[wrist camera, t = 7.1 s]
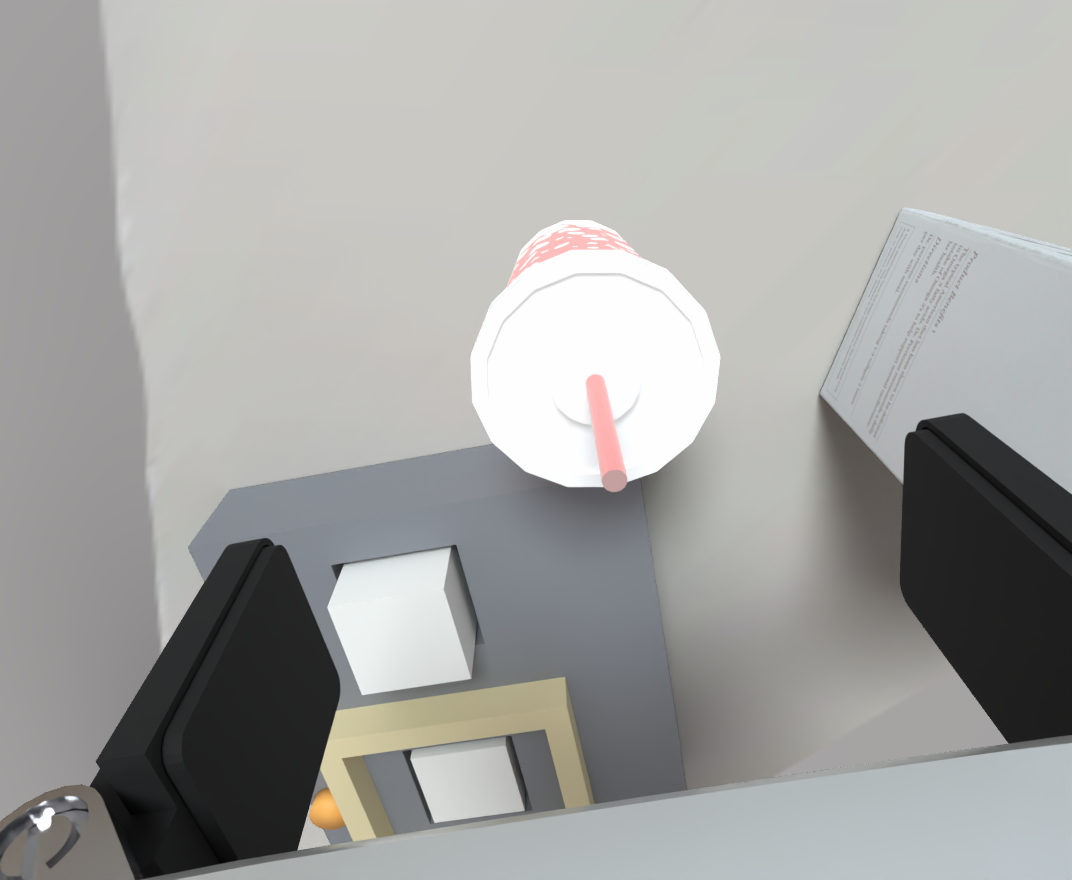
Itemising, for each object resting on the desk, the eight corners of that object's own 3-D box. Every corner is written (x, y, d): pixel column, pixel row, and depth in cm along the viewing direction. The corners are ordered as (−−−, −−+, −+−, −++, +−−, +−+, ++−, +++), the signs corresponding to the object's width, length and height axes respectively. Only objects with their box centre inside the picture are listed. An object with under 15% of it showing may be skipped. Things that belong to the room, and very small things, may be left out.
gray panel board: (625, 420, 28) (645, 493, 24) (678, 763, 37) (701, 871, 32) (229, 490, 30) (169, 572, 25) (366, 806, 38) (341, 915, 33)
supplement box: (989, 437, 29) (1283, 672, 18) (812, 393, 28) (1001, 611, 17) (1097, 251, 26) (1542, 391, 14) (902, 196, 25) (1211, 298, 14)
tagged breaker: (508, 674, 34) (505, 745, 30) (525, 736, 36) (524, 810, 32) (423, 687, 34) (410, 759, 31) (444, 748, 36) (434, 822, 32)
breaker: (455, 522, 28) (443, 588, 24) (478, 606, 30) (471, 679, 26) (353, 540, 28) (327, 607, 25) (382, 621, 30) (362, 695, 27)
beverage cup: (454, 262, 26) (378, 439, 13) (605, 158, 24) (680, 245, 12) (550, 397, 28) (564, 659, 15) (694, 309, 27) (838, 520, 14)
